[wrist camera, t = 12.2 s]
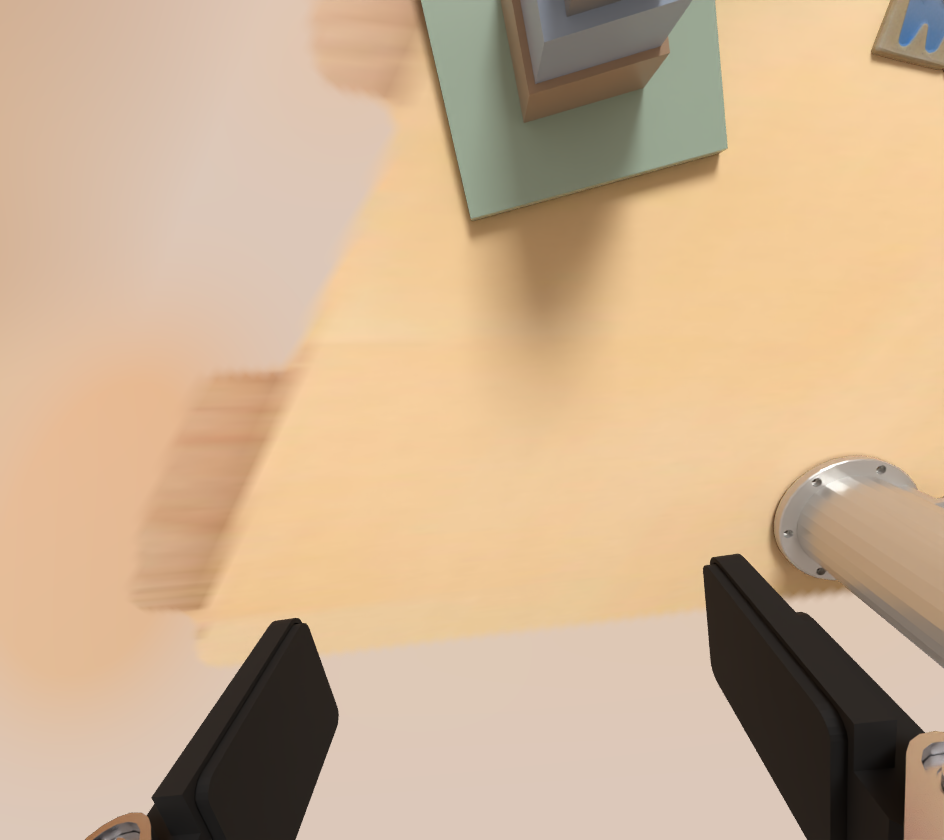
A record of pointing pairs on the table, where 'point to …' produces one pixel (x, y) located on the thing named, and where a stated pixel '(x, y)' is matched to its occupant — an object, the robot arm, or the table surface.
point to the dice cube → (584, 5)
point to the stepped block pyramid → (574, 93)
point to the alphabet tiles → (913, 33)
